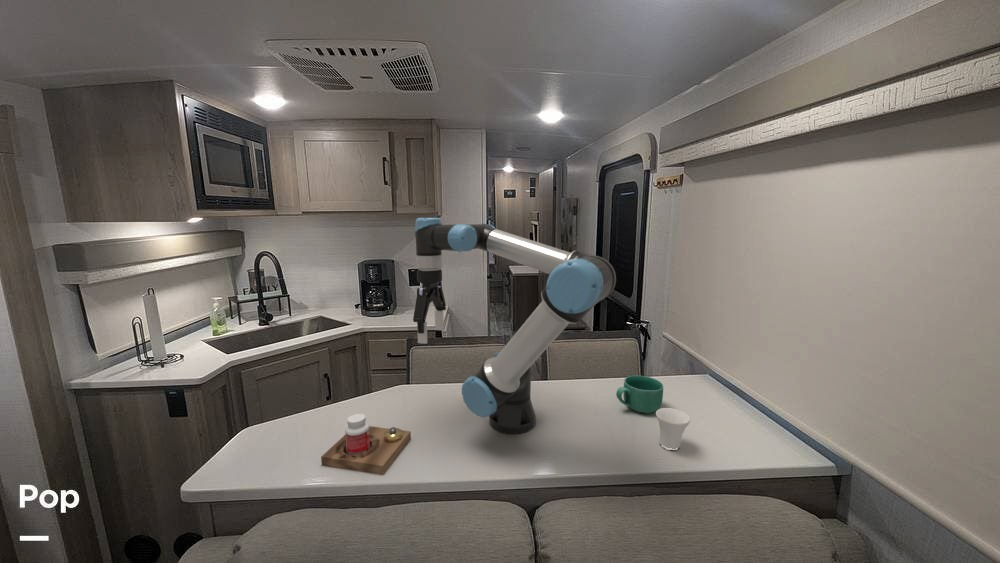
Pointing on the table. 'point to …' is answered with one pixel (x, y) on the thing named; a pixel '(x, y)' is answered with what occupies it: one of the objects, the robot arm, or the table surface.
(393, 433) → the disc
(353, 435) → the pill bottle
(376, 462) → the carrier plate
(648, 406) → the mug
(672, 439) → the cup
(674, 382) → the table surface
